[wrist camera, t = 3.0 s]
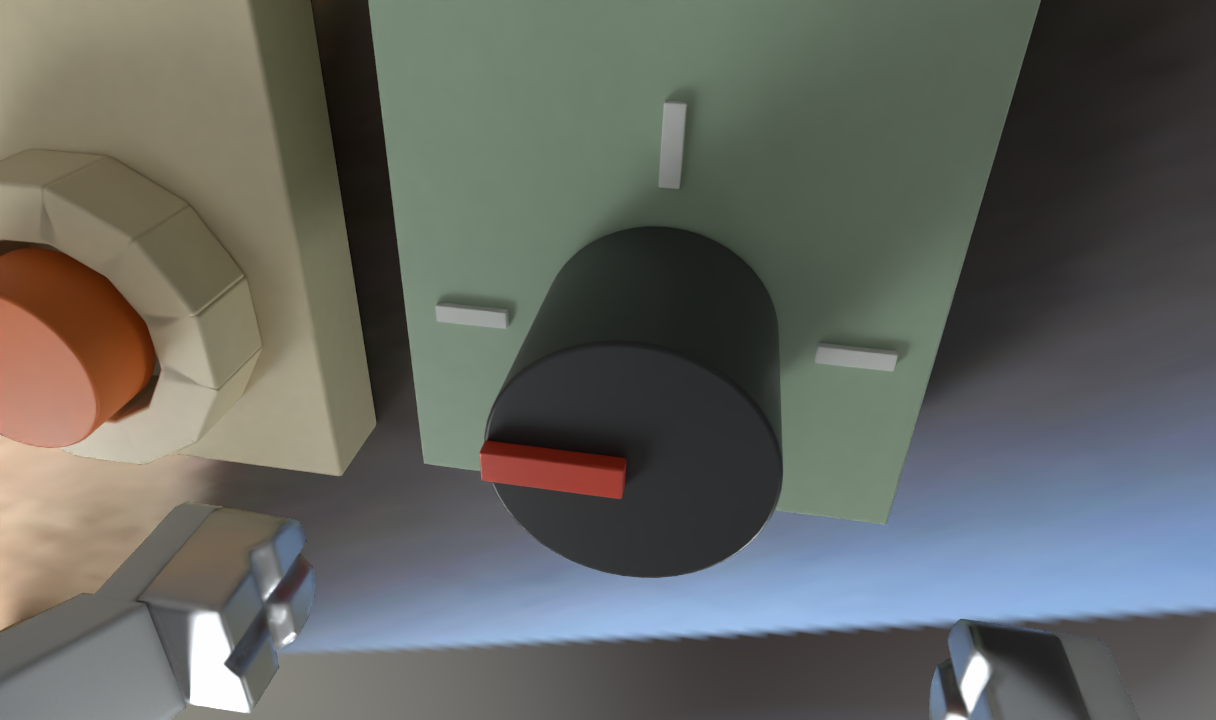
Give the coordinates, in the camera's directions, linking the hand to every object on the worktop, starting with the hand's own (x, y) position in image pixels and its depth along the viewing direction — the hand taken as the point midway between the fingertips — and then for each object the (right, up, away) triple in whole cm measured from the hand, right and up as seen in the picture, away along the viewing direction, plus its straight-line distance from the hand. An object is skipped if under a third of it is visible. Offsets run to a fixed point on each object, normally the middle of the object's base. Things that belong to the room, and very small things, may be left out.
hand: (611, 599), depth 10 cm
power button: (-11, +4, +6) cm, 13 cm away
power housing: (-10, +6, +9) cm, 15 cm away
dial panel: (+1, +7, +6) cm, 9 cm away
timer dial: (+1, +3, +5) cm, 6 cm away
